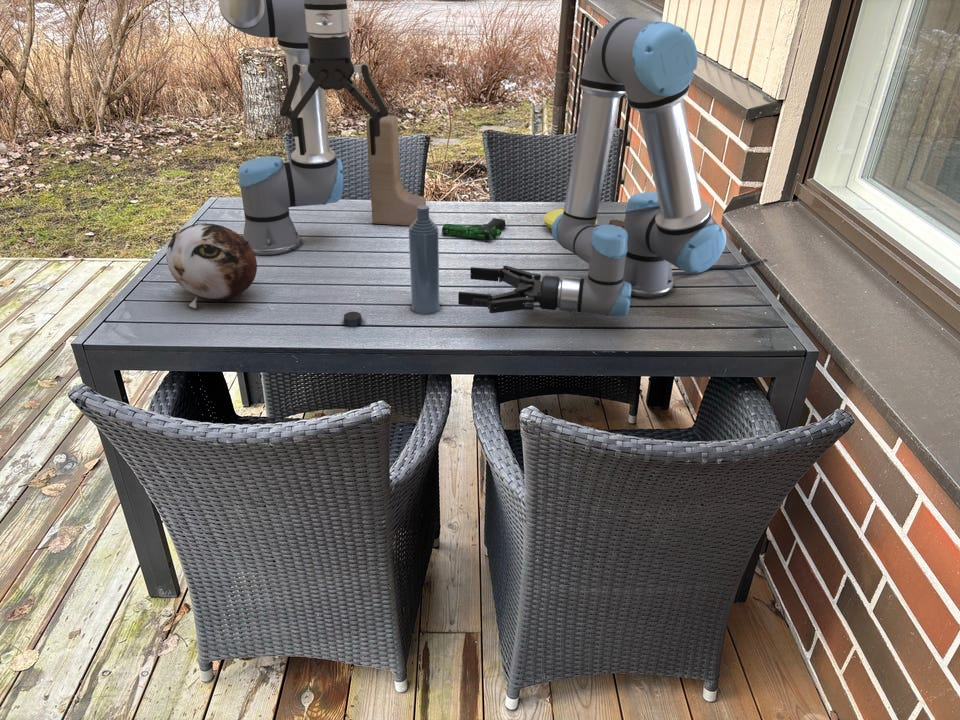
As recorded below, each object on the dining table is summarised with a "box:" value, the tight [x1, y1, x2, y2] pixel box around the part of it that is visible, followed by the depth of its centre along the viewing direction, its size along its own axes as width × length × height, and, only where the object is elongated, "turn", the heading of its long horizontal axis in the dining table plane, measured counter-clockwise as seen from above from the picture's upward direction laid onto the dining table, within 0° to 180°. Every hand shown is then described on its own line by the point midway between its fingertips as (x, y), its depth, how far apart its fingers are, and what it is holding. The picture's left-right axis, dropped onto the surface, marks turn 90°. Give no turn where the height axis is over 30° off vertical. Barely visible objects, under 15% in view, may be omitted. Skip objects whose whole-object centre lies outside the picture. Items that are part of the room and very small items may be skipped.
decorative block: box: [365, 114, 427, 227], centre depth 207 cm, size 8×15×30 cm, turn 82°
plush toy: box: [165, 222, 258, 309], centre depth 165 cm, size 22×18×20 cm
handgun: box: [441, 217, 506, 242], centre depth 207 cm, size 16×3×15 cm
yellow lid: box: [543, 208, 598, 229], centre depth 209 cm, size 16×16×7 cm
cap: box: [343, 311, 363, 328], centre depth 158 cm, size 4×4×2 cm
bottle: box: [408, 204, 441, 315], centre depth 159 cm, size 6×6×24 cm
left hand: (338, 153), depth 140 cm, fingers open, 13 cm apart
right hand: (464, 285), depth 161 cm, fingers open, 13 cm apart
